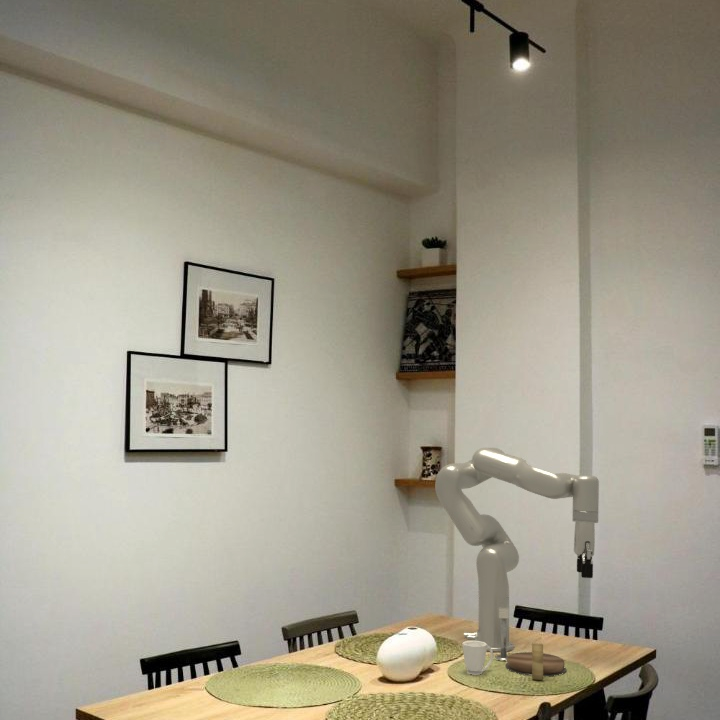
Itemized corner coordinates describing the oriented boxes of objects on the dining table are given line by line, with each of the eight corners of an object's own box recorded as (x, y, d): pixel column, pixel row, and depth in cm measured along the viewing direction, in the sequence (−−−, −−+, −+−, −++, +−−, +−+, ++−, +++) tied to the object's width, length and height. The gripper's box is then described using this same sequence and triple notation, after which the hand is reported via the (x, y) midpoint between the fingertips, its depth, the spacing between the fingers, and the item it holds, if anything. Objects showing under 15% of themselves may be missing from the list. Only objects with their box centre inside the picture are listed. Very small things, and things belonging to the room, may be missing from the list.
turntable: (507, 657, 253) (507, 626, 254) (562, 661, 250) (562, 629, 251) (507, 677, 232) (507, 643, 232) (568, 681, 229) (568, 647, 230)
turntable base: (505, 674, 237) (505, 673, 237) (505, 658, 253) (505, 657, 253) (568, 678, 234) (568, 677, 234) (563, 662, 251) (563, 661, 251)
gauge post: (495, 660, 251) (495, 608, 252) (495, 656, 256) (495, 605, 257) (512, 661, 250) (512, 609, 251) (512, 657, 255) (512, 606, 256)
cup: (456, 671, 239) (456, 642, 239) (484, 667, 244) (484, 638, 245) (472, 677, 233) (472, 647, 233) (500, 673, 238) (500, 643, 239)
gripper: (569, 513, 265) (568, 569, 263) (576, 519, 247) (575, 579, 246) (593, 514, 264) (593, 570, 262) (603, 520, 247) (602, 580, 245)
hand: (584, 574), depth 254 cm, fingers open, 9 cm apart
